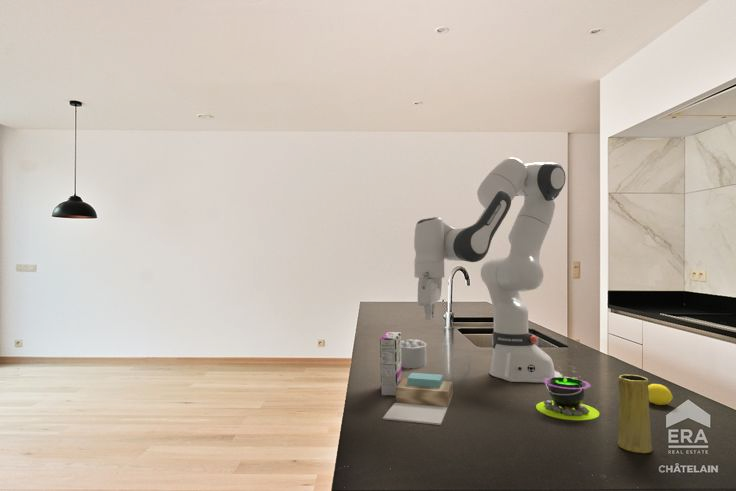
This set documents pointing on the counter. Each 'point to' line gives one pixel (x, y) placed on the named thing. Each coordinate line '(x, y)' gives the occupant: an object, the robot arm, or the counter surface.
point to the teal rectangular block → (425, 380)
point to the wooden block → (424, 394)
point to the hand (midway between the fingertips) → (429, 318)
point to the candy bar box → (390, 362)
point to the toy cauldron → (567, 399)
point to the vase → (634, 414)
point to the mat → (416, 413)
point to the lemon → (659, 394)
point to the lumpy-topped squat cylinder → (413, 353)
